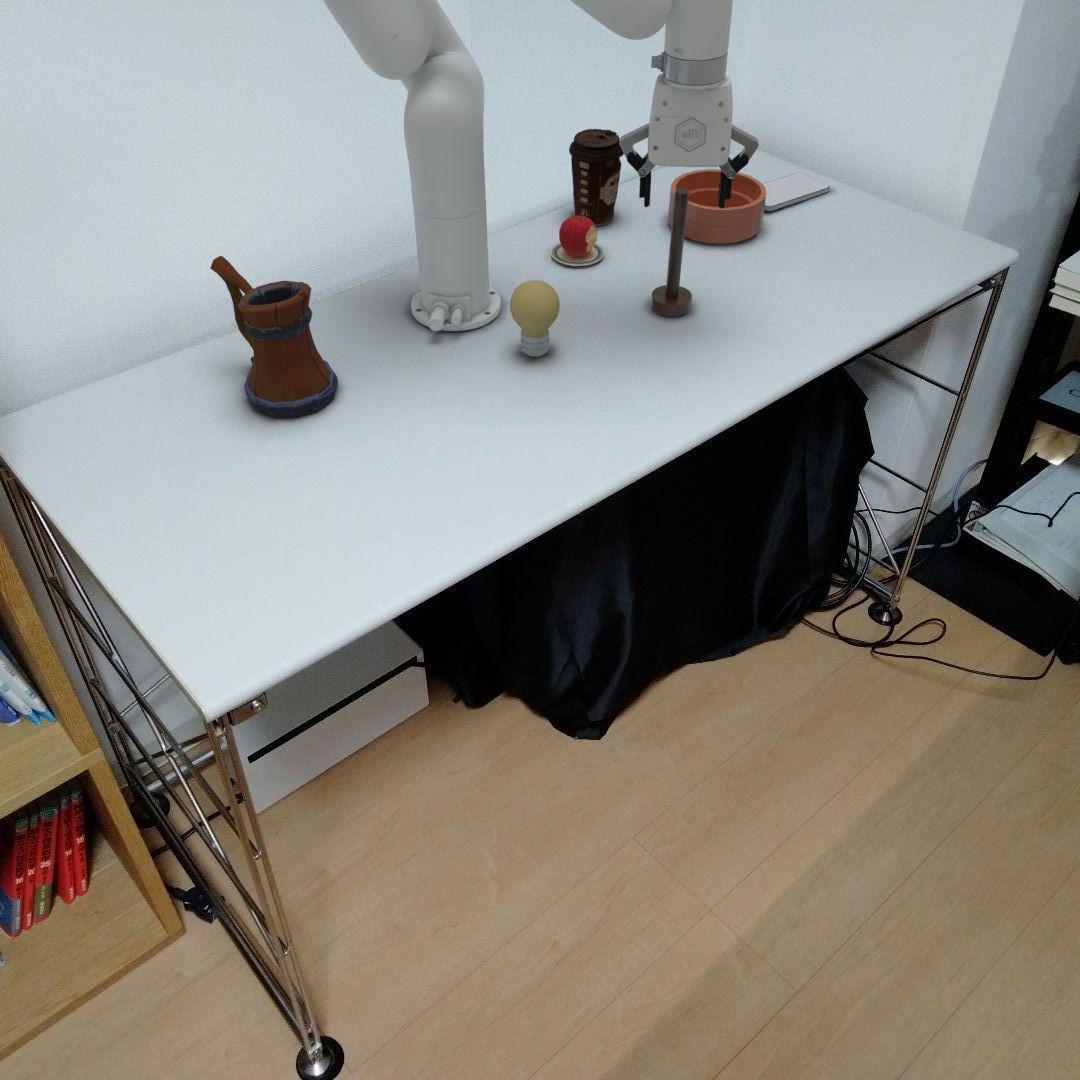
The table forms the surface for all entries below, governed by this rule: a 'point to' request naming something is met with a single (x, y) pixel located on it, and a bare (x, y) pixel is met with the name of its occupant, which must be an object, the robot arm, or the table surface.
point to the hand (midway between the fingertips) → (683, 203)
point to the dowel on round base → (674, 266)
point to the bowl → (706, 215)
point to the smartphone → (792, 190)
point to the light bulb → (534, 315)
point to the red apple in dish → (577, 242)
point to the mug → (279, 345)
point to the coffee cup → (595, 173)
